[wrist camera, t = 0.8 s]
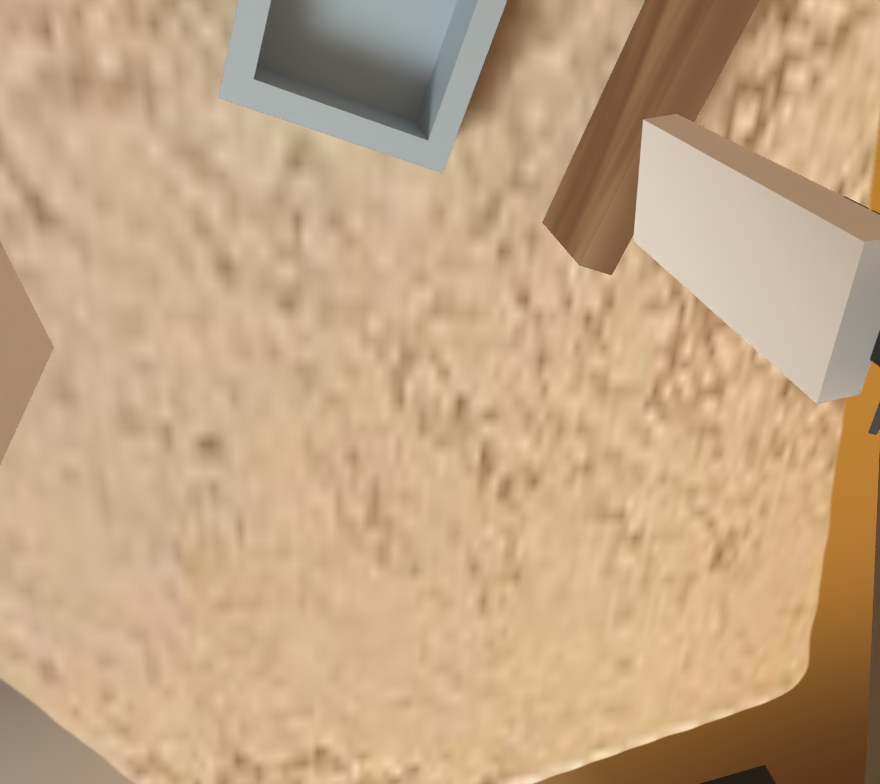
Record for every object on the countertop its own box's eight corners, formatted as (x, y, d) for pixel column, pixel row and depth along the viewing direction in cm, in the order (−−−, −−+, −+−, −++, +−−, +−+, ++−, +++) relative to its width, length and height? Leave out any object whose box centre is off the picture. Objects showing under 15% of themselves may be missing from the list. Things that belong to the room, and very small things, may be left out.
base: (542, 222, 40) (579, 265, 35) (665, -44, 33) (732, -36, 28) (613, 245, 42) (657, 289, 37) (744, -3, 35) (819, 11, 30)
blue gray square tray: (224, 78, 32) (218, 97, 29) (277, -187, 27) (278, -201, 24) (427, 149, 36) (442, 173, 33) (506, -74, 31) (534, -72, 28)
